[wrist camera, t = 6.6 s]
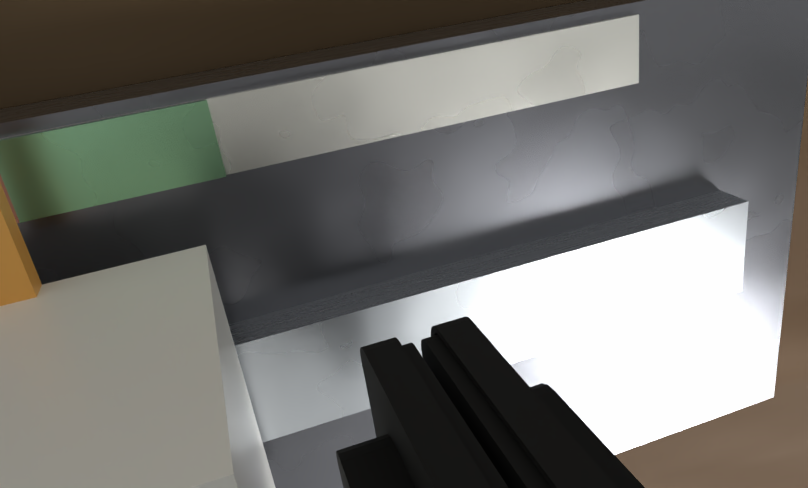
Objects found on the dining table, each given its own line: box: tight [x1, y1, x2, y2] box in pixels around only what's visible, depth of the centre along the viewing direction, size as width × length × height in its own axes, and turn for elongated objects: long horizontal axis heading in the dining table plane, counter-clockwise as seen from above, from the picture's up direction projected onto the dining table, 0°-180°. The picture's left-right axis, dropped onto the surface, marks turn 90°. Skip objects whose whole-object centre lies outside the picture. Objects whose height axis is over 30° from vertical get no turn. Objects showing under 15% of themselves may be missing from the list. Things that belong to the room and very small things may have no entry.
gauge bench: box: [0, 0, 808, 488], centre depth 10 cm, size 24×10×8 cm, turn 98°
